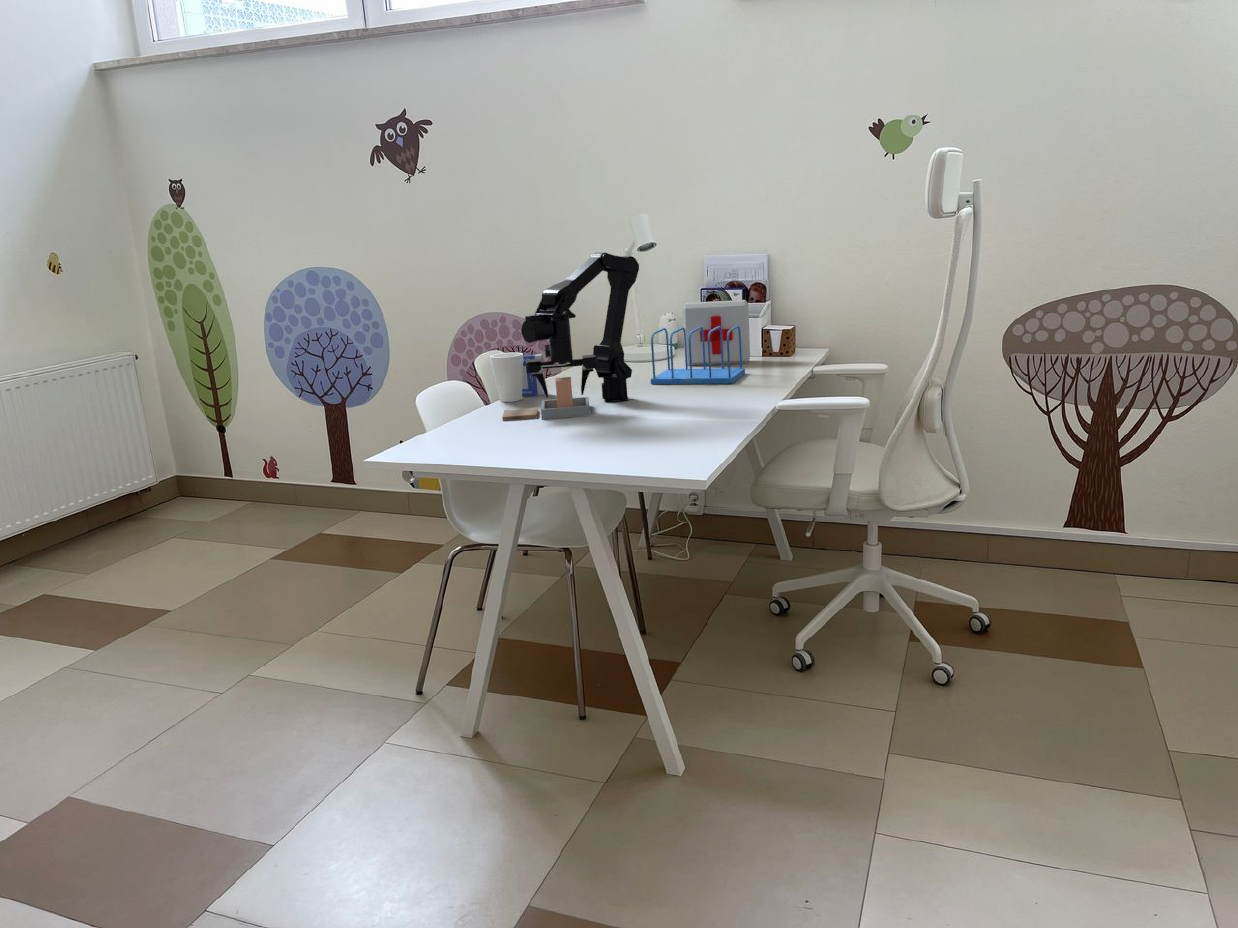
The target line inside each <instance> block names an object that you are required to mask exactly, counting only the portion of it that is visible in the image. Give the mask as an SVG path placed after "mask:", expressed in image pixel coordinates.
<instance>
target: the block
mask: <svg viewBox="0 0 1238 928" xmlns="http://www.w3.org/2000/svg"><path fill="white" fill-rule="evenodd" d="M572 389H573V387H572V376H566V377H565V376H563V377H555V390H556V399H557V405H558V408H562V407H573V399H572V398H573V390H572Z"/></svg>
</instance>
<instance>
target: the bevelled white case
mask: <svg viewBox="0 0 1238 928" xmlns="http://www.w3.org/2000/svg"><path fill="white" fill-rule="evenodd" d="M749 307H750V306H749V302H747V300H746V299H737V300H718V301H697V302H696V301H695V302H686V303H685V304H684V305H683V307H682V308H681V310H682V311H681V312H682V325H683V326H682V327H684V329H685V332H686V345H687V364H688V367H690V360H689V334H690V332H691V331H693V330H695V329H697V328H699V327H702V328H703V330H704V343H705V365H706V366H709V359H708V333H709V331H711V330H712V329H714V328H716V327H718V326H720V327H721V329H722V338H723V361H724V365H728V355H727V333H728V331H729V330H730V329H732V328H734V327H735V326H739V327H740V331H741V351H742V365H743V364H747V363H748V362H749V361H750V359H751V346H750V345H751V344H750V343H751V340H750V338H751V337H750V313H749V312H750V311H749V310H750V309H749ZM683 345H684V346H683V347H684V353H685V344H684V343H683ZM729 354H730V365H738V364H739V365H740V353H739V332H738V328H736V329H734V330H733V331H731V332H730V333H729ZM691 357H692V367H693V366H704V363H703V343H702V331H701V329H699V330H697V331H695V332H693V333H692V334H691ZM710 358H711V366H714V365H716V366H717V365H722V361H721V337H720V329H717V330H715V331H713V332H712V333H711V334H710ZM684 363H685V364H686V362H685V361H684Z"/></svg>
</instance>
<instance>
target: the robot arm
mask: <svg viewBox="0 0 1238 928" xmlns="http://www.w3.org/2000/svg"><path fill="white" fill-rule="evenodd" d="M639 270H640V264H639V262H638V260H637V259H636V258H635V257H634V256H631V255H629V256H628V255H627V256H625V255H622V256H619V255H614V254H611V253H608V252H594V253H593V254H591V255H590V257H589V258H588V259H587V260H586V261H585V262H584V263H582V264H581V265H580V266H579V267H578V268H577V269H576V270H575V271H574V272H572V273H571V274H570V275H569V276H568V277H566V279H564V280H562V281H561V282H557V283H555V284H553V285H551V286H550V287H547V288H546V289H545V290H543V292H542V293H541V299H540V300H539V304H538V305H537V307H536V310H535V312H534V315H531V314H529V315H528V314H527V315H524V319H525V320H524V321H523V323H522V325H521V329H520V331H521V332H520V334H521V336H522V339H523V340H524V341H525V342H526V343H528V344H530V343H535V342H536V343H537V342H541V341H546V340H547V341H548V343H549V344H544V353H545V358H548V359H549V358H550V361H549V360H547V361H543V362H541V359H531V360H528V361H527V362H526V372H527V373H532V376H536V377H537V379H538V381H539V382H540V384H541V386H542V388H543V390H544V393H545V394H544V395H545V397H546V398H547V399H548V398H549V391H548V390H549V389H548V386H547V381H546V378H545V370H547V369H558V368H559V369H560V368H569V367H571V368H572V367H581V366H582V367H581V380H580V381H581V383H580V392H581V393H580V394H581V396H584V391H585V388H586V383H587V380H588V378H589V375H590V373H591V372H594V371H595V373H596V375H597V377H598V378H599V379H600V378H602V380H603V382H601V394H602V395H601V396H602V400H604V402H605V403H608V402H610V403H611V402H621V401H624V402H625V401H629V396H628V387H627V386H628V385H627V380H628V379H629V378H631V377H632V373H633V369H632V368H631V367H630V366H629V365H628V364H627V363H626V362H625V351H624V348H623V346H622V337H623V330H624V323H625V316H626V311H627V303H628V297H629V292H630V290H631V288H633V285H634V284H635V283H636V281H637V277H638V274H639ZM602 272H606V273H607V274H606V275H607V281H608V284H609V286H610V290H609V297H608V304H607V309H606V311H607V312H606V318H605V322H604V323H605V324H604V331H603V336H602V340H601V342H600V343H599V344H594V345H593V347H592V348H593V350H592V351H593V353H592V354H585V355H582V358H575V359H573V358H574V357H573V356H574V355H573V347H572V336H571V325H570V323H571V322H570V319H574V318H576V317H577V315H576V314H575V313H573V312H572V311H571V307H572V306H573V304H574V303H575V302H576V301H577V297H578V295H579V293H580V292H581V291H582V290H583V289H584V288H586V286H588V285H589V284H590V283H591V282H592V281H594V279H595V278H596V277H598V276H599V274H601V273H602ZM542 369H544V371H543V370H542Z"/></svg>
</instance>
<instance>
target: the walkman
mask: <svg viewBox="0 0 1238 928" xmlns="http://www.w3.org/2000/svg"><path fill="white" fill-rule="evenodd" d="M543 356H544V355H543V354H542V353H540V354H523V360H524V362H523V379H522V397H529V396H530V397H532V396H534V397H535V396H544V395H545V393H544V390H543V388H542V386H541V384H540V382H539V381H538V379H537V377H536V376H532V373H527V372H526V362H527V361H528V360H531V359H541V362H544V357H543ZM542 370H543V371H544V372H545V369H542Z"/></svg>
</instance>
